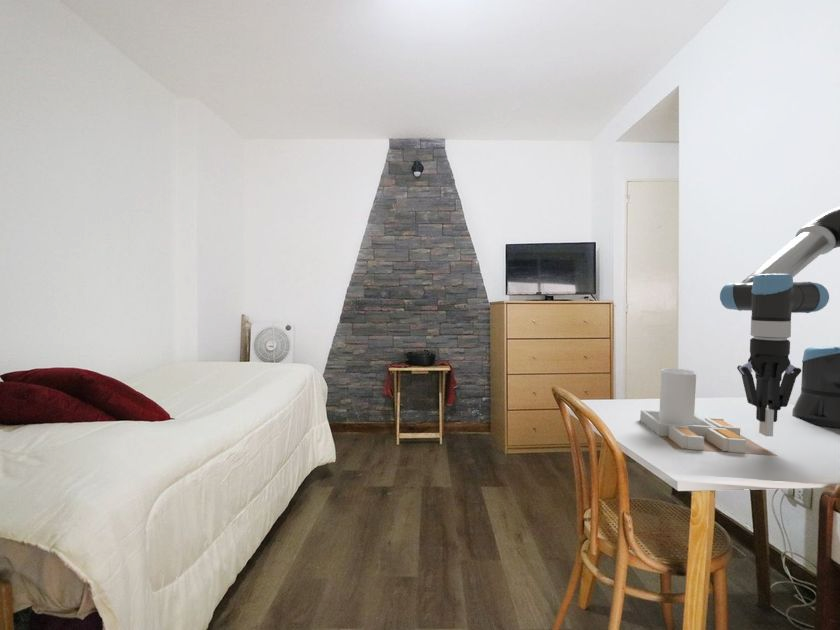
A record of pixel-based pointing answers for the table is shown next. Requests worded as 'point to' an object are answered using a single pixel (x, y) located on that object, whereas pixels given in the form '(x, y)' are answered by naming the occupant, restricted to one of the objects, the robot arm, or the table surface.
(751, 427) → the table surface
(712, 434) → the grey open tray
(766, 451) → the panel
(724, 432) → the block
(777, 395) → the robot arm
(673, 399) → the cup
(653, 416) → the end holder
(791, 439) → the table surface
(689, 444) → the side clips
